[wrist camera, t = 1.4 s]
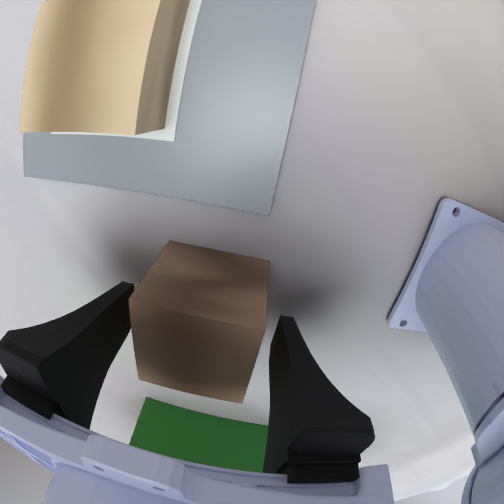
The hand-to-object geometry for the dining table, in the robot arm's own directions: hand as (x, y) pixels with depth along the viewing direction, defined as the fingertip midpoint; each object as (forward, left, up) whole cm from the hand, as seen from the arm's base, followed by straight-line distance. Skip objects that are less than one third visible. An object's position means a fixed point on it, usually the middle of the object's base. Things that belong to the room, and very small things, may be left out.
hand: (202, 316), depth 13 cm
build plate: (+5, -11, -2) cm, 12 cm away
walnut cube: (0, 0, -2) cm, 2 cm away
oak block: (+6, -11, -1) cm, 13 cm away
